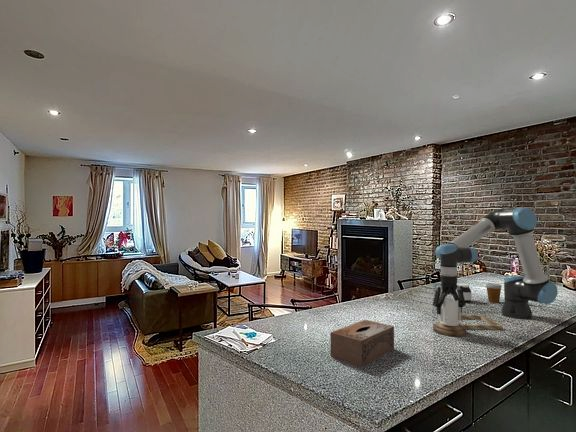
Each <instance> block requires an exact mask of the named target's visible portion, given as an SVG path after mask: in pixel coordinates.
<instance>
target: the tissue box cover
mask: <svg viewBox="0 0 576 432" xmlns="http://www.w3.org/2000/svg"><path fill="white" fill-rule="evenodd" d="M393 350H395V326H394V325H391V324H386V323H382V322H377V321H373V320H368V319H363V320H359V321H357V322H354V323H352V324H349V325H346V326H344V327H341V328H338V329H336V330H333V331H331V332H330V357H332V358H334V359H336V360H337V359H338V360H340V361H343V362H345V363H349V364H352V365H354V366H357V367H363V366H365V365H367V364H368V363H371V362H372V361H374V360H376V359H379V358H380V357H381V356H384V355H385V354H387V353H389V352H391V351H393Z"/></svg>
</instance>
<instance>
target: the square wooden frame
mask: <svg viewBox="0 0 576 432" xmlns="http://www.w3.org/2000/svg"><path fill="white" fill-rule="evenodd" d="M461 320H481V321H483V322H485V323H487V324H463V323H461V322H460V321H458V322H459V324H460V325H462V326H463V327H465V328H466V330H495V331H497V330H503V325H502V324H500V323H498V322H496V321H494V320H492V319H490V318H488V317H487V316H484V314H483V315H482V314H461Z"/></svg>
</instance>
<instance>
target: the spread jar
mask: <svg viewBox="0 0 576 432" xmlns="http://www.w3.org/2000/svg"><path fill="white" fill-rule="evenodd" d="M458 285H460V286H463V295H464V299H465V303H470V302H471V301H472V290H471V289H472V288H471V287H470V284H469V283H457V286H458ZM456 292H457V295H458V291H457V289H456ZM451 295H452V294H451ZM458 297H459V296H458ZM451 298H452V299H454V297H453V295H452V296H451Z"/></svg>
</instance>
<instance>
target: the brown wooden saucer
mask: <svg viewBox="0 0 576 432" xmlns="http://www.w3.org/2000/svg"><path fill="white" fill-rule="evenodd" d="M432 328H433V330H432V331H433V332H434V333H436V334H439V335H442V336H446V337H464V336H466V335H467V329H466V328H465V327H463V326H462V325H460V324H459V325H458V326H447V325H443V324H441V323H440V321H438V322H436V323H435V324H434V323H433V325H432Z"/></svg>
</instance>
